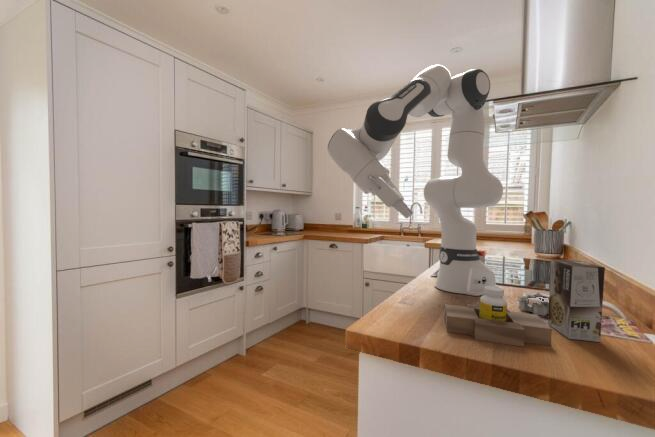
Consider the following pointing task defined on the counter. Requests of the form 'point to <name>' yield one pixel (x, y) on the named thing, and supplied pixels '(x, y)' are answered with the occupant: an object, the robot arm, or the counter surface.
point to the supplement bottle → (493, 304)
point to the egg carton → (534, 305)
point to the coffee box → (576, 299)
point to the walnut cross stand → (497, 326)
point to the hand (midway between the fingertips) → (410, 215)
